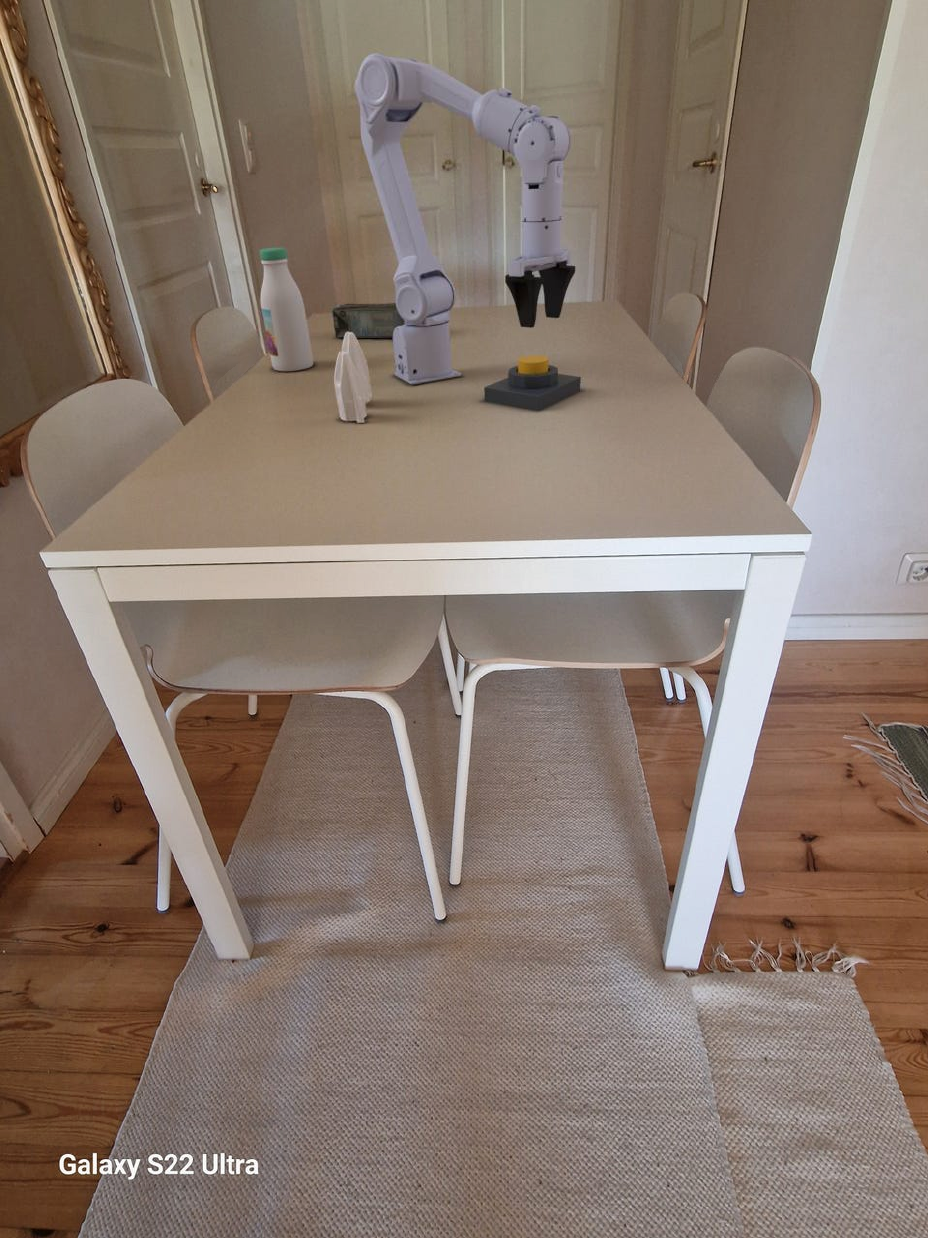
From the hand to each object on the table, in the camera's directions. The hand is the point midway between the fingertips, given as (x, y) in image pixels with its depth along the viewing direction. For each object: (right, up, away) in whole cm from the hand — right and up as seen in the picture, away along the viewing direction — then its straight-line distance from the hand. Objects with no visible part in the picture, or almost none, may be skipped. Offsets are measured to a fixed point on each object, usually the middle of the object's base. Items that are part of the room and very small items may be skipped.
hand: (540, 321), depth 106 cm
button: (-1, -8, 0) cm, 8 cm away
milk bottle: (-44, +2, +25) cm, 51 cm away
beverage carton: (-30, +17, +45) cm, 57 cm away
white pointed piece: (-28, -14, 0) cm, 32 cm away
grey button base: (-1, -11, +2) cm, 11 cm away
